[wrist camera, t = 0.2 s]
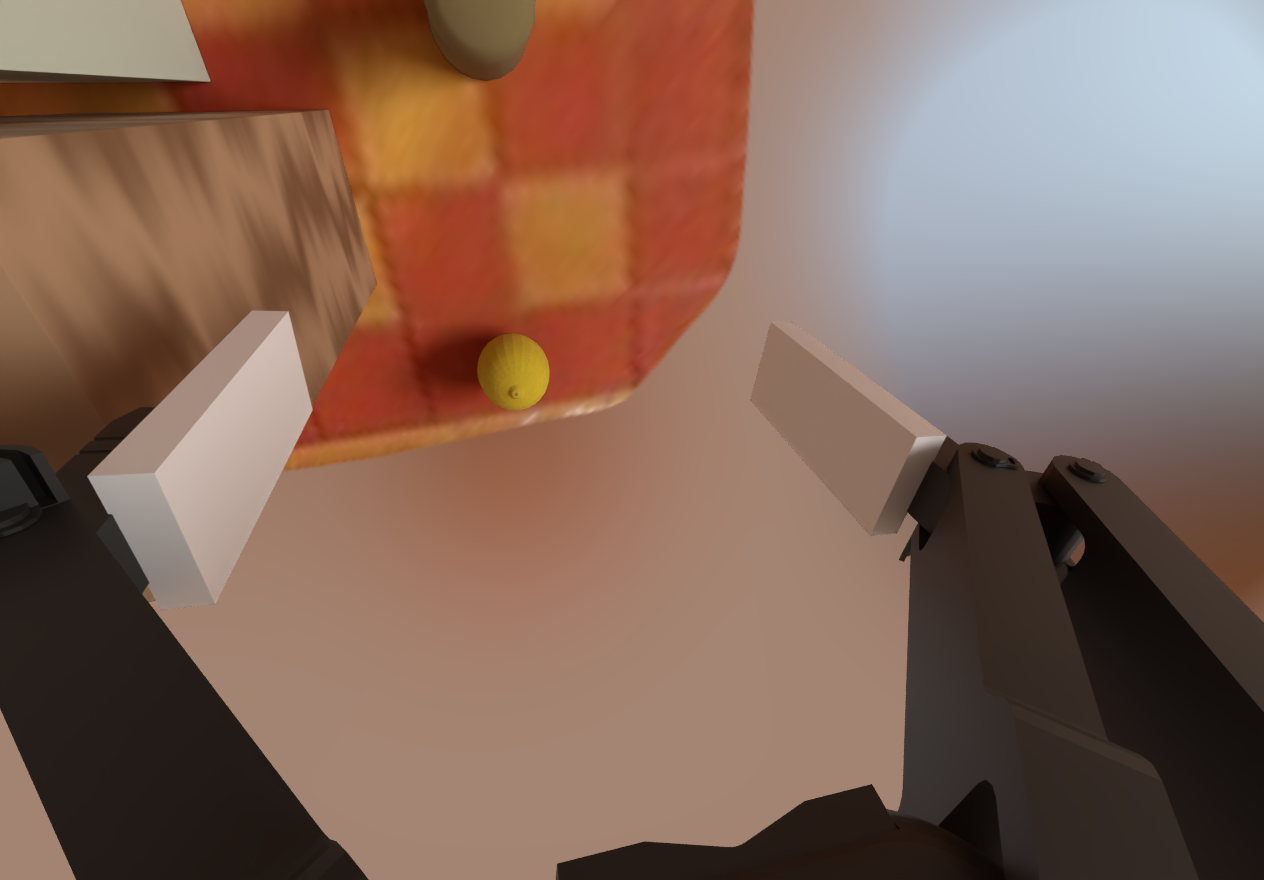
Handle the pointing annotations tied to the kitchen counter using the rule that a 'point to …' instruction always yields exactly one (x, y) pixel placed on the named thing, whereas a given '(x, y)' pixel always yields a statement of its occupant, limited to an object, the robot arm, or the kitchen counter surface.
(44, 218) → the walnut stand
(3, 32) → the sage block
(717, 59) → the kitchen counter surface
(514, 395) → the lemon
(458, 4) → the olive elongated ovoid
